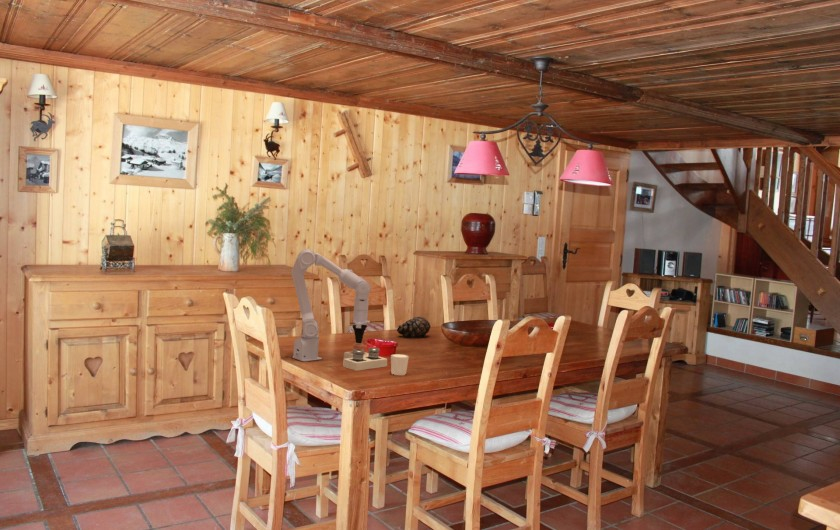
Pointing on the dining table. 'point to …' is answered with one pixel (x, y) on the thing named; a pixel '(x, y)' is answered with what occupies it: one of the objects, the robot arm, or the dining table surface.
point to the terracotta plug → (358, 346)
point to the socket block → (363, 362)
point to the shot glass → (399, 364)
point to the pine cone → (414, 328)
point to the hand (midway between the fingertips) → (358, 342)
